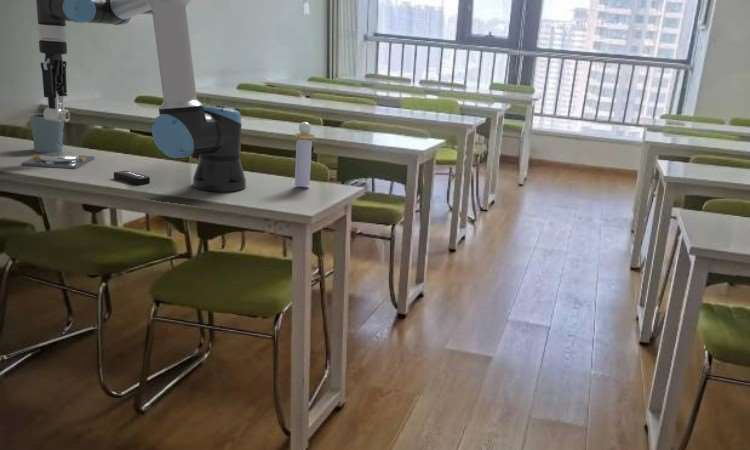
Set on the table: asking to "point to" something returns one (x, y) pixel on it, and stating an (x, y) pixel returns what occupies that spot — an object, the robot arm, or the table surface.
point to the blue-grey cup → (46, 134)
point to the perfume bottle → (303, 156)
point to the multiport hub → (131, 177)
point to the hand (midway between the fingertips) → (57, 117)
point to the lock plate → (58, 160)
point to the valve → (63, 114)
